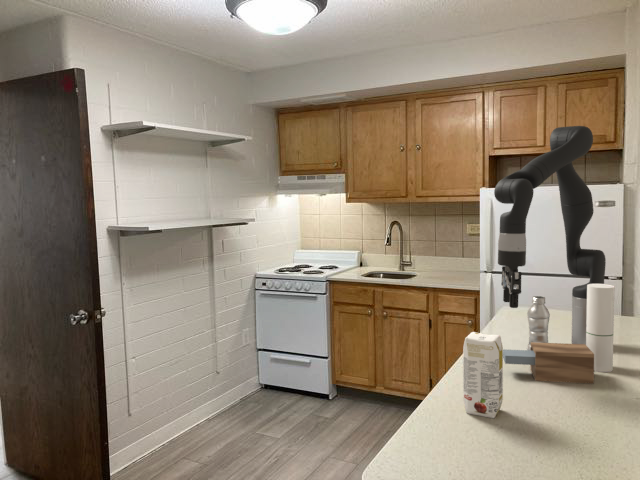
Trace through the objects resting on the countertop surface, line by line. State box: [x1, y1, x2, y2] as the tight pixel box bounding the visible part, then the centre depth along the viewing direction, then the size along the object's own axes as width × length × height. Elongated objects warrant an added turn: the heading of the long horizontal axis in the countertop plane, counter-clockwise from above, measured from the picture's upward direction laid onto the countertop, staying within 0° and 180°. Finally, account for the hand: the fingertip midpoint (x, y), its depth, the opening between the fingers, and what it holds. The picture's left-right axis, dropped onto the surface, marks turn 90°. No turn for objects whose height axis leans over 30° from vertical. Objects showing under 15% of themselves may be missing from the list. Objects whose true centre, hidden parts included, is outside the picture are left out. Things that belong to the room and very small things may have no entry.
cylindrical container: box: [586, 283, 615, 373], centre depth 154 cm, size 7×7×25 cm
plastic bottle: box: [526, 295, 551, 350], centre depth 164 cm, size 6×7×20 cm
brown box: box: [529, 342, 595, 385], centre depth 149 cm, size 9×15×8 cm, turn 77°
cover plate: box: [503, 348, 535, 366], centre depth 150 cm, size 6×20×2 cm, turn 77°
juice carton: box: [462, 331, 504, 419], centre depth 127 cm, size 8×9×19 cm
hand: (510, 304), depth 150 cm, fingers open, 8 cm apart
